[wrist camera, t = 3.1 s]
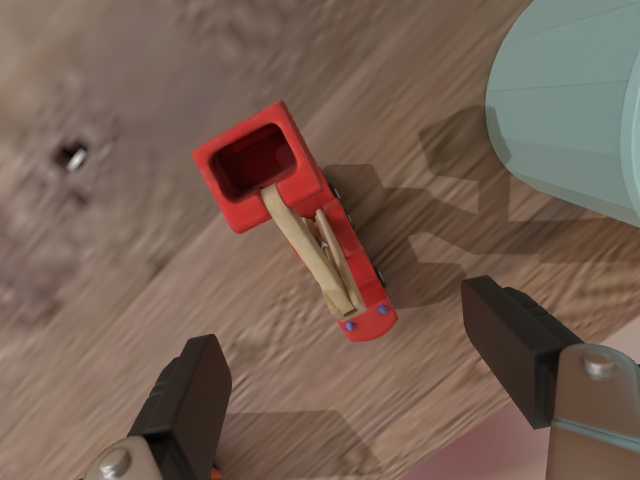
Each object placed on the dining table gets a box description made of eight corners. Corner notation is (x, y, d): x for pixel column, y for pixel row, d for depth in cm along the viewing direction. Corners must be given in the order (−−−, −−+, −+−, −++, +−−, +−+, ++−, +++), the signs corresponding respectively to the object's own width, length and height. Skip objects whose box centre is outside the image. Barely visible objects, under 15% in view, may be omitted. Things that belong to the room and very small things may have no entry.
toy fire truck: (347, 316, 24) (374, 443, 15) (237, 130, 19) (179, 153, 10) (391, 294, 23) (447, 413, 14) (290, 99, 19) (278, 95, 10)
